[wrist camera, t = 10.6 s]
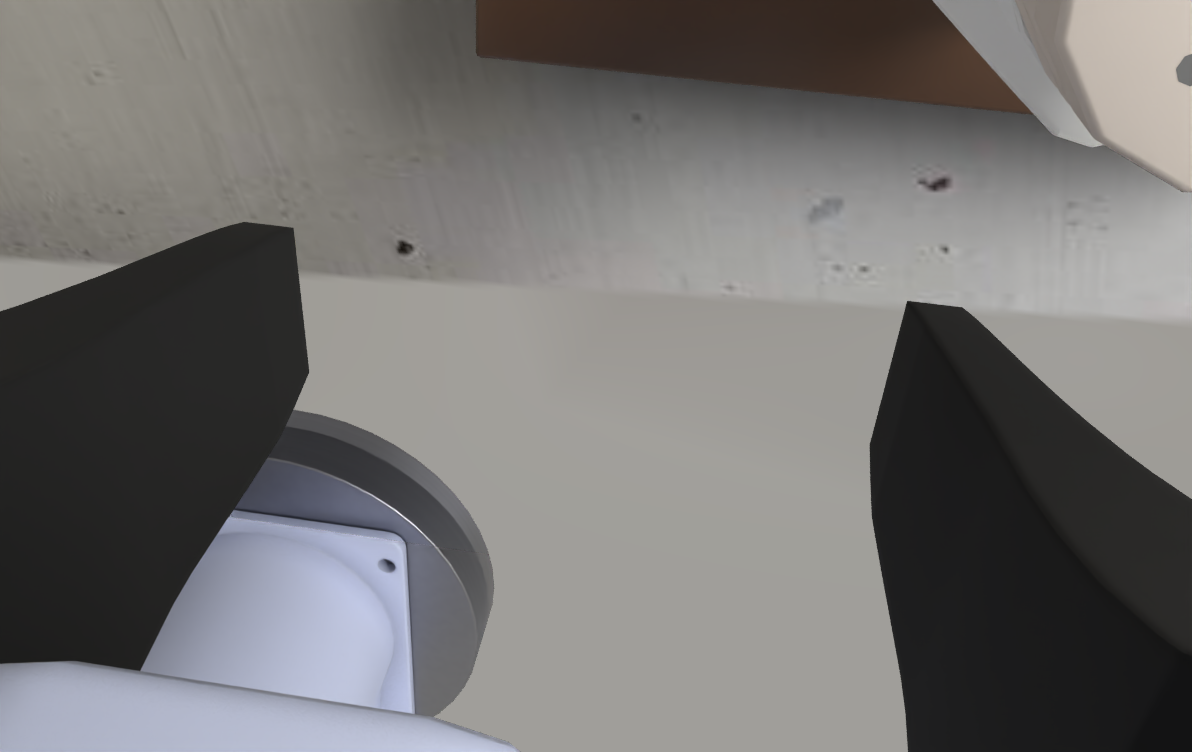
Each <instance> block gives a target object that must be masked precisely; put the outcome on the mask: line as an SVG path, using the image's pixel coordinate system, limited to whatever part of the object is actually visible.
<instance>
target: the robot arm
mask: <svg viewBox="0 0 1192 752" xmlns="http://www.w3.org/2000/svg"><path fill="white" fill-rule="evenodd" d="M308 374H309V366H308V357H307V349H306V339H305V330H304V320H303V311H302V302H301V293H300V284H299V274H298V265H297V256H296V247H295V238H294V229H293V228H290V227H282V226H274V225H265V224H257V223H248V222H242V223H238V224H234V225H230V226H227V227H224V228H220V229H218V230H215V231H212V232H209V233H206V234H204V235H201V236H198V237H195V238H193V239H190V240H188V241H185V242H183V243H180V244H178V245H175V246H173V247H170V248H168V249H165V250H163V251H160V252H158V253H155V254H153V255H150V256H148V257H146V258H143V259H141V260H138V261H136V262H133V263H131V264H128V265H126V266H123V267H121V268H118V269H116V270H113V271H111V272H108V273H106V274H103V275H101V276H98V277H96V278H93V279H90V280H87V281H85V282H82V283H80V284H77V285H74V286H71V287H68V288H66V289H63V290H60V291H58V292H55V293H52V294H49V295H46V296H44V297H41V298H38V299H35V300H33V301H30V302H27V303H24V304H22V305H19V306H16V307H13V308H10V309H7V310H3V311H1V312H0V752H520V751H519V750H518V749H517V748H515V747H514V746H513V745H512V744H510V743H509V742H507V741H504V740H501V739H498V738H495V737H492V736H489V735H486V734H483V733H480V732H477V731H474V730H471V729H468V728H465V727H462V726H459V725H456V724H453V723H450V722H447V721H444V720H441V719H438V718H435V717H431V716H424V715H418V714H415V701H414V682H413V664H412V645H411V626H410V607H409V589H408V570H407V551H406V545H405V542H404V541H403V540H402V538H401V537H399V536H398V535H396V534H394V533H390V532H385V531H378V530H371V529H364V528H357V527H350V526H343V525H336V524H329V523H322V522H315V521H308V520H301V519H294V518H287V517H280V516H273V515H266V514H259V513H252V512H245V511H237V510H234V508H235V507H236V505H237V504H238V502H239V501H240V499H241V498H242V496H243V494H244V493H245V491H246V490H247V488H248V487H249V485H250V484H251V482H252V481H253V479H254V478H255V476H256V474H257V473H258V471H259V470H260V468H261V467H262V465H263V464H264V462H265V460H266V459H267V457H268V456H269V454H270V453H271V451H272V449H273V448H274V446H275V445H276V443H277V441H278V440H279V438H280V437H281V435H282V432H283V430H284V428H285V426H286V424H287V422H288V420H289V418H290V415H291V413H292V411H293V409H294V407H295V404H296V402H297V400H298V397H299V395H300V393H301V390H302V388H303V385H304V383H305V381H306V378H307V376H308ZM870 475H871V476H870V481H871V506H872V519H873V526H874V532H875V538H876V543H877V549H878V554H879V560H880V565H881V571H882V577H883V583H884V588H885V593H886V599H887V604H888V610H889V615H890V620H891V626H892V632H893V637H894V642H895V648H896V653H897V658H898V664H899V670H900V675H901V682H902V689H903V697H904V705H905V713H906V727H907V741H908V752H1192V499H1191V498H1189V497H1188V496H1186V495H1185V494H1183V493H1182V492H1180V491H1179V490H1177V489H1176V488H1174V487H1173V486H1171V485H1170V484H1169V483H1167V482H1166V481H1164V480H1163V479H1161V478H1160V477H1158V476H1157V475H1155V474H1154V473H1152V472H1151V471H1150V470H1148V469H1147V468H1145V467H1144V466H1143V465H1141V464H1140V463H1139V462H1137V461H1136V460H1135V459H1133V458H1132V457H1131V456H1129V455H1128V454H1126V453H1125V452H1124V451H1123V450H1122V449H1120V448H1119V447H1118V446H1117V445H1115V444H1114V443H1113V442H1112V441H1111V440H1109V439H1108V438H1107V437H1106V436H1104V435H1103V434H1102V433H1100V432H1099V431H1098V430H1097V429H1096V428H1095V427H1093V426H1092V425H1091V424H1090V423H1088V422H1087V421H1086V420H1085V419H1084V418H1082V417H1081V416H1080V415H1079V414H1078V413H1077V412H1076V411H1074V410H1073V409H1072V408H1071V407H1070V406H1069V405H1067V404H1066V403H1065V402H1064V401H1063V400H1062V399H1061V398H1060V397H1059V396H1057V395H1056V394H1055V393H1054V392H1053V391H1052V390H1051V389H1050V388H1048V387H1047V386H1046V385H1045V384H1044V383H1043V382H1042V381H1041V380H1040V379H1039V378H1038V377H1037V376H1036V375H1035V374H1034V373H1033V372H1031V371H1030V370H1029V369H1028V368H1027V367H1026V366H1025V365H1024V364H1023V363H1022V362H1021V361H1020V360H1019V359H1018V358H1017V357H1016V356H1015V355H1014V354H1013V353H1012V352H1011V351H1010V350H1008V349H1007V348H1006V347H1005V346H1004V345H1003V344H1002V343H1001V342H1000V341H999V340H998V339H997V338H996V337H995V336H994V335H993V334H992V333H991V332H990V331H989V330H988V329H987V328H985V327H984V326H983V325H982V324H981V323H980V322H979V321H978V320H977V319H976V318H975V317H973V316H972V315H971V314H970V313H969V312H967V311H966V310H965V309H964V308H962V307H954V306H945V305H937V304H928V303H920V302H912V301H907V304H906V308H905V312H904V316H903V320H902V324H901V327H900V331H899V335H898V339H897V342H896V346H895V350H894V354H893V358H892V362H891V366H890V369H889V373H888V377H887V381H886V385H885V388H884V393H883V397H882V400H881V404H880V408H879V411H878V415H877V419H876V423H875V427H874V431H873V435H872V438H871V442H870ZM384 559H387V560H390V561H391V562H393V563H389V562H386V561H385V560H384Z"/></svg>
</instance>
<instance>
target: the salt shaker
mask: <svg viewBox="0 0 1192 752" xmlns="http://www.w3.org/2000/svg"><path fill="white" fill-rule="evenodd" d="M932 1H933V2H934V3H935V4H936V5H937V6H938V7H939V9H940V10H941V11H942V12H943V13H944V14H945V15H946V17H947V18H948V19H949V20H950V21H951V22H952V23H953V25H954V26H955V27H956V28H957V29H958V30H959V31H960V33H961V34H962V35H963V36H964V37H965V38H966V39H967V41H968V42H969V43H970V44H971V45H972V46H973V47H974V49H975V50H976V51H977V52H978V53H979V54H980V55H981V56H982V57H983V59H984V60H985V61H986V62H987V63H988V64H989V65H990V66H991V68H992V69H993V70H994V71H995V72H996V73H997V74H998V75H999V76H1000V78H1001V79H1002V80H1003V81H1004V82H1005V83H1006V84H1007V85H1008V87H1009V88H1010V89H1011V90H1012V91H1013V92H1014V93H1015V94H1016V95H1017V96H1018V98H1019V99H1020V100H1021V101H1022V102H1023V103H1024V104H1025V105H1026V106H1027V107H1028V108H1029V110H1030V111H1031V112H1032V113H1033V114H1034V115H1035V116H1036V117H1037V118H1038V119H1039V120H1040V121H1041V123H1042V124H1043V125H1044V126H1045V127H1046V128H1047V129H1048V130H1049V131H1050V132H1051V133H1052V134H1053V135H1054V136H1057V137H1060V138H1063V139H1067V140H1070V141H1073V142H1076V143H1079V144H1082V145H1085V146H1088V147H1096V146H1101V145H1105V146H1107V147H1108V148H1110V149H1112V150H1113V151H1115V152H1117V153H1118V154H1120V155H1122V156H1123V157H1125V158H1127V159H1128V160H1130V161H1132V162H1133V163H1135V164H1137V165H1138V166H1140V167H1141V168H1143V169H1145V170H1146V171H1148V172H1150V173H1151V174H1153V175H1155V176H1156V177H1158V178H1160V179H1161V180H1163V181H1165V182H1166V183H1168V184H1170V185H1171V186H1173V187H1175V188H1176V189H1178V190H1180V191H1181V192H1192V0H932Z"/></svg>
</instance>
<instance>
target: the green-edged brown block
mask: <svg viewBox="0 0 1192 752" xmlns="http://www.w3.org/2000/svg"><path fill="white" fill-rule="evenodd" d="M476 53H477V56H479V57H483V58H492V59H502V60H511V61H521V62H531V63H540V64H550V65H559V66H569V67H579V68H588V69H598V70H607V71H617V72H627V73H636V74H646V75H655V76H665V77H675V78H684V79H694V80H704V81H713V82H723V83H732V84H742V85H752V86H761V87H771V88H780V89H790V90H800V91H809V92H819V93H828V94H838V95H848V96H857V97H867V98H876V99H886V100H896V101H905V102H915V103H924V104H934V105H944V106H953V107H963V108H973V109H982V110H992V111H1001V112H1011V113H1021V114H1030V115H1034V114H1033V113H1032V112H1031V111H1030V110H1029V108H1028V107H1027V106H1026V105H1025V104H1024V103H1023V102H1022V101H1021V100H1020V99H1019V98H1018V96H1017V95H1016V94H1015V93H1014V92H1013V91H1012V90H1011V89H1010V88H1009V87H1008V85H1007V84H1006V83H1005V82H1004V81H1003V80H1002V79H1001V78H1000V76H999V75H998V74H997V73H996V72H995V71H994V70H993V69H992V68H991V66H990V65H989V64H988V63H987V62H986V61H985V60H984V59H983V57H982V56H981V55H980V54H979V53H978V52H977V51H976V50H975V49H974V47H973V46H972V45H971V44H970V43H969V42H968V41H967V39H966V38H965V37H964V36H963V35H962V34H961V33H960V31H959V30H958V29H957V28H956V27H955V26H954V25H953V23H952V22H951V21H950V20H949V19H948V18H947V17H946V15H945V14H944V13H943V12H942V11H941V10H940V9H939V7H938V6H937V5H936V4H935V3H934V2H933V1H932V0H476Z"/></svg>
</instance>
